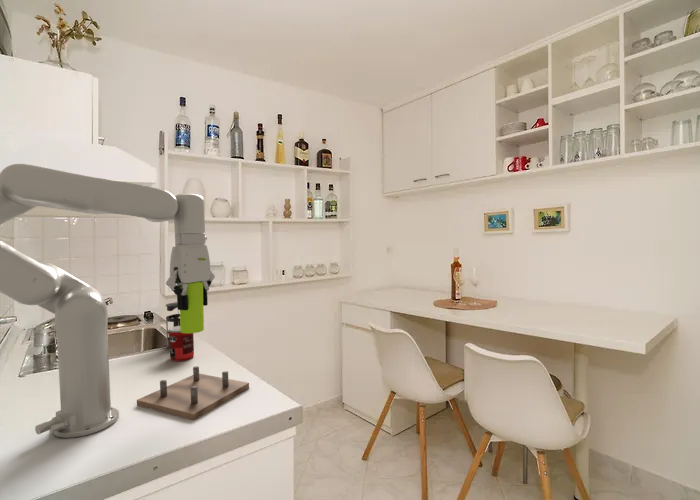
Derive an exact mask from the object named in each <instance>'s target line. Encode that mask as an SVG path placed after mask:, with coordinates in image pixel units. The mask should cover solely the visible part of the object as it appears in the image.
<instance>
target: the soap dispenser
mask: <svg viewBox="0 0 700 500" xmlns="http://www.w3.org/2000/svg"><path fill="white" fill-rule="evenodd" d="M199 260H201V261H202V260H206V258H199ZM181 289H182V286H181ZM185 295H188V310H179V314H180V317H179V318H180V332H181V333H193V334H197V333H200V332H203V331H205V330H204V329H205V327H204V326H205V323H204V321H205V320H204V319H205V318H204V315H205V314H204V312H205V310H204V306H203V282H195V283H191V284H188V287H187V291H186V294H185Z"/></svg>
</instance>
